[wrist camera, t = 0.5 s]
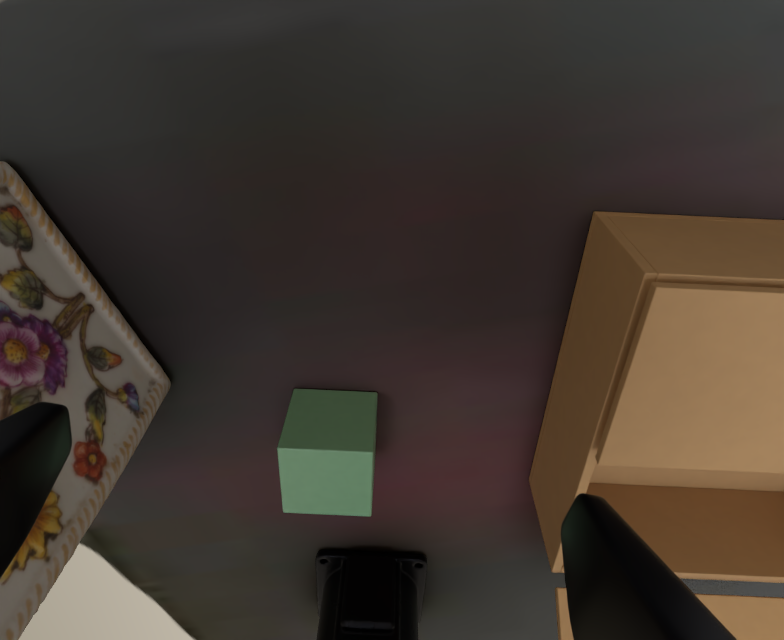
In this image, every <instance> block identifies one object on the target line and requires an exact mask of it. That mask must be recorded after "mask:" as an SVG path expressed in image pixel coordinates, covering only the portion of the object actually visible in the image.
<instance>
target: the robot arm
mask: <svg viewBox="0 0 784 640" xmlns="http://www.w3.org/2000/svg"><path fill="white" fill-rule="evenodd" d="M71 447H72V433H71V425H70V416H69V411H68V408H67V407H66V406H64V405H62V404H56V403H50V402H38V403H35V404H33V405H31V406H29V407H27V408H25V409H23V410H21V411H19V412H17V413H14V414H12V415H10V416H8V417H6V418H4V419H2V420H0V578H1V577H2V575H3V574H4V572H5V571H6V569H7V568H8V566H9V565H10V563H11V562H12V560H13V558H14V557H15V555H16V554H17V552H18V551H19V549H20V548H21V546H22V544H23V543H24V541H25V539H26V538H27V536H28V534H29V532H30V530H31V529H32V527H33V525H34V523H35V521H36V519H37V517H38V515H39V513H40V511H41V509H42V507H43V505H44V503H45V501H46V499H47V497H48V495H49V494H50V492H51V490H52V488H53V486H54V484H55V482H56V480H57V478H58V476H59V474H60V472H61V470H62V468H63V466H64V464H65V462H66V460H67V458H68V456H69V454H70V451H71ZM561 544H562V554H563V563H564V573H565V583H566V592H567V602H568V610H569V617H570V623H571V628H572V634H573V638H574V640H737V639H736V638H735V637H734V636H733V635H732V634H731V633H730V632H729V630H728V629H727V628H726V627H725V626H724V625H723V624H722V623H721V622H720V621H719V620H718V619H717V618H716V617H715V616H714V615H713V613H712V612H711V611H710V610H709V609H708V608H707V607H706V606H705V605H704V604H703V603H702V602H701V601H700V600H699V599H698V598H697V596H696V595H695V594H694V593H693V592H692V591H691V590H690V589H689V588H688V587H687V586H686V585H685V584H684V583H683V582H682V580H681V579H680V578H679V577H678V576H677V575H676V574H675V573H674V572H673V571H672V570H671V569H670V568H669V567H668V566H667V565H666V563H665V562H664V561H663V560H662V559H661V558H660V557H659V556H658V555H657V554H656V553H655V552H654V551H653V550H652V549H651V548H650V546H649V545H648V544H647V543H646V542H645V541H644V540H643V539H642V538H641V537H640V536H639V535H638V534H637V533H636V532H635V531H634V529H633V528H632V527H631V526H630V525H629V524H628V523H627V522H626V521H625V520H624V519H623V518H622V517H621V516H620V515H619V513H618V512H617V511H616V510H615V509H614V508H613V507H612V506H611V505H610V504H609V503H608V502H607V501H606V500H605V499H604V498H603V497H601V496H597V495H591V494H585V493H580V494H579V495H577V497H576V498H575V500H574V501H573V503H572V505H571V507H570V509H569V511H568V512H567V514H566V516H565V518H564V520H563V522H562V525H561ZM426 572H427V558H426V557H425V556H424V555H420V554H402V553H380V552H358V551H336V550H321V551H319V552H318V553H317V556H316V579H317V599H318V616H319V618H320V619H319V626H318V633H317V640H418V623H419V622H420V620H421V613H422V605H423V597H424V588H425V580H426Z"/></svg>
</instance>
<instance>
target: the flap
mask: <svg viewBox="0 0 784 640" xmlns="http://www.w3.org/2000/svg"><path fill="white" fill-rule="evenodd" d="M695 595H696V596H697V598H698V599H699V600H700V601H701V602H702V603H703V604H704V605H705V606H706V607H707V608H708V609H709V610H710V611H711V612H712V613H713V615H714V616H715V617H716V618H717V619H718V620H719V621H720V622H721V623H722V624H723V625H724V626H725V627H726V628H727V629H728V630H729V632H730V633H731V634H732V635H733V636H734V637H735V638H736V639H737V640H784V598H779V597H757V596H735V595H713V594H695ZM555 596H556V611H557V625H558V639H559V640H574V638H573V634H572V628H571V623H570V617H569V610H568V602H567V592H566V588H560V587H556V588H555Z"/></svg>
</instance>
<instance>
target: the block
mask: <svg viewBox="0 0 784 640" xmlns="http://www.w3.org/2000/svg"><path fill="white" fill-rule="evenodd" d="M377 396H378V394H377V392H358V391H337V390H315V389H294V390H293V393H292V397H291V401H290V404H289V408H288V411H287V415H286V418H285V422H284V426H283V429H282V433H281V436H280V440H279V444H278V447H277V452H278V463H279V474H280V485H281V495H282V506H283V512H284V513H304V514H326V515H348V516H369V517H370V516H371V513H372V498H373V483H374V468H375V453H376V424H377Z"/></svg>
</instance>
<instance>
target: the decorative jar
mask: <svg viewBox="0 0 784 640" xmlns="http://www.w3.org/2000/svg"><path fill="white" fill-rule="evenodd" d="M170 386H171V383H170V380H169V378H168V377H167V375H166V374H165V373H164V371H163V369H162V368H161V367H160V365H159V364H158V363H157V361H156V360H155V359H154V358H153V356H152V355H151V354H150V353H149V351H148V350H147V349H146V347H145V346H144V345H143V343H142V342H141V341H140V339H139V338H138V336H137V335H136V333H135V332H134V331H133V329H132V328H131V327H130V325H129V324H128V323H127V321H126V320H125V319H124V317H123V316H122V314H121V313H120V312H119V310H118V309H117V308H116V306H115V305H114V304H113V303H112V302H111V300H110V299H109V297H108V296H107V294H106V293H105V291H104V290H103V289H102V288H101V286H100V285H99V284H98V282H97V280H96V279H95V278H94V277H93V275H92V274H91V273H90V271H89V270H88V268H87V267H86V265H85V264H84V263H83V262H82V260H81V259H80V258H79V256H78V255H77V253H76V252H75V251H74V250H73V248H72V247H71V245H70V244H69V243H68V241H67V240H66V239H65V237H64V236H63V234H62V233H61V232H60V231H59V229H58V228H57V226H56V225H55V224H54V222H53V221H52V220H51V219H50V217H49V216H48V215H47V213H46V212H45V211H44V209H43V207H42V206H41V205H40V203H39V202H38V201H37V200H36V198H35V197H34V195H33V194H32V193H31V191H30V190H29V188H28V187H27V185H26V184H25V183H24V182H23V180H22V179H21V178H20V176H19V175H18V174H17V172H16V171H15V170H14V169H13V168H12V167H11V166H10V165H9V164H7V163H6V162H4V161H0V420H2V419H4V418H6V417H8V416H10V415H12V414H14V413H17V412H19V411H21V410H23V409H25V408H27V407H29V406H31V405H33V404H35V403H38V402H50V403H56V404H62V405H64V406H66V407H67V408H68V411H69V416H70V425H71V433H72V447H71V451H70V454H69V456H68V458H67V460H66V462H65V464H64V466H63V468H62V470H61V472H60V474H59V476H58V478H57V480H56V482H55V484H54V486H53V488H52V490H51V492H50V494H49V495H48V497H47V499H46V501H45V503H44V505H43V507H42V509H41V511H40V513H39V515H38V517H37V519H36V521H35V523H34V525H33V527H32V529H31V530H30V532H29V534H28V536H27V538H26V539H25V541H24V543H23V544H22V546H21V548H20V549H19V551H18V552H17V554H16V555H15V557H14V558H13V560H12V562H11V563H10V565H9V566H8V568H7V569H6V571H5V572H4V574H3V575H2V577H1V578H0V640H18V639H19V638H20V636H21V634H22V633H23V631H24V630H25V628H26V626H27V625H28V623H29V622H30V620H31V619H32V617H33V615H34V614H35V613H36V612H37V611H38V608H39V606H40V604H41V603H42V602H43V601H44V599H45V598H46V596H47V594H48V592H49V591H50V589H51V588H52V586H53V585H54V583H55V582H56V580H57V578H58V576H59V575H60V573H61V572H62V570H63V568H64V566H65V565H66V563H67V562H68V561H69V560H70V558H71V557H72V555H73V553H74V551H75V549H76V547H77V546H78V544H79V542H80V540H81V539H82V537H83V536H84V534H85V532H86V531H87V529H88V528H89V526H90V525H91V524H92V522H93V520H94V518H95V517H96V516H97V514H98V512H99V510H100V509H101V507H102V506H103V504H104V502H105V500H106V499H107V498H108V497H109V495H110V492H111V490H112V489H113V488H114V486H115V484H116V482H117V480H118V479H119V477H120V475H121V474H122V472H123V470H124V469H125V467H126V465H127V464H128V462H129V459H130V458H131V456H132V455H133V453H134V451H135V450H136V448H137V446H138V444H139V443H140V441H141V439H142V437H143V435H144V434H145V432H146V430H147V428H148V426H149V424H150V423H151V421H152V419H153V418H154V416H155V414H156V412H157V410H158V408H159V406H160V405H161V403H162V402H163V400H164V398H165V396H166V394H167V393H168V391H169V389H170Z"/></svg>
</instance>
